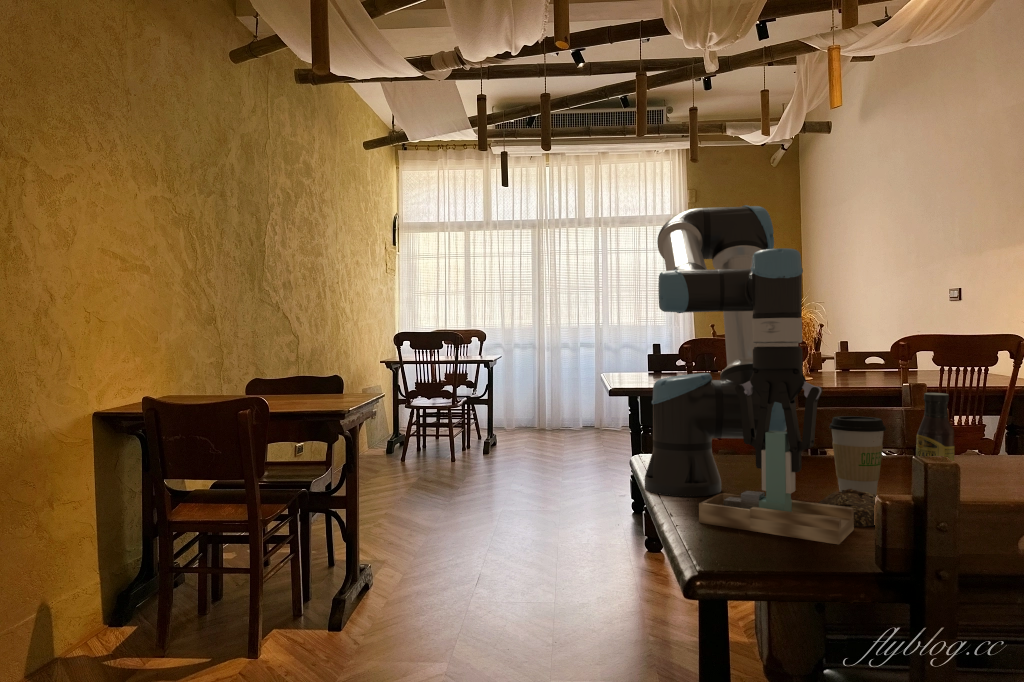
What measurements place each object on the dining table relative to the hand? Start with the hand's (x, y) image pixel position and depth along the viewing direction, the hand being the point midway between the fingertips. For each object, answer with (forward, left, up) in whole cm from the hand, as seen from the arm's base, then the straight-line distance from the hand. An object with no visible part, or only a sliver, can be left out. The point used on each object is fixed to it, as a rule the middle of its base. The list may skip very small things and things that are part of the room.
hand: (778, 490), depth 113 cm
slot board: (0, 0, -6) cm, 6 cm away
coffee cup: (+6, +31, -6) cm, 32 cm away
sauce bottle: (+18, +38, -6) cm, 42 cm away
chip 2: (-4, 0, -2) cm, 5 cm away
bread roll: (+8, +14, -6) cm, 17 cm away
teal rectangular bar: (0, 0, -4) cm, 4 cm away
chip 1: (-7, 0, -4) cm, 8 cm away
